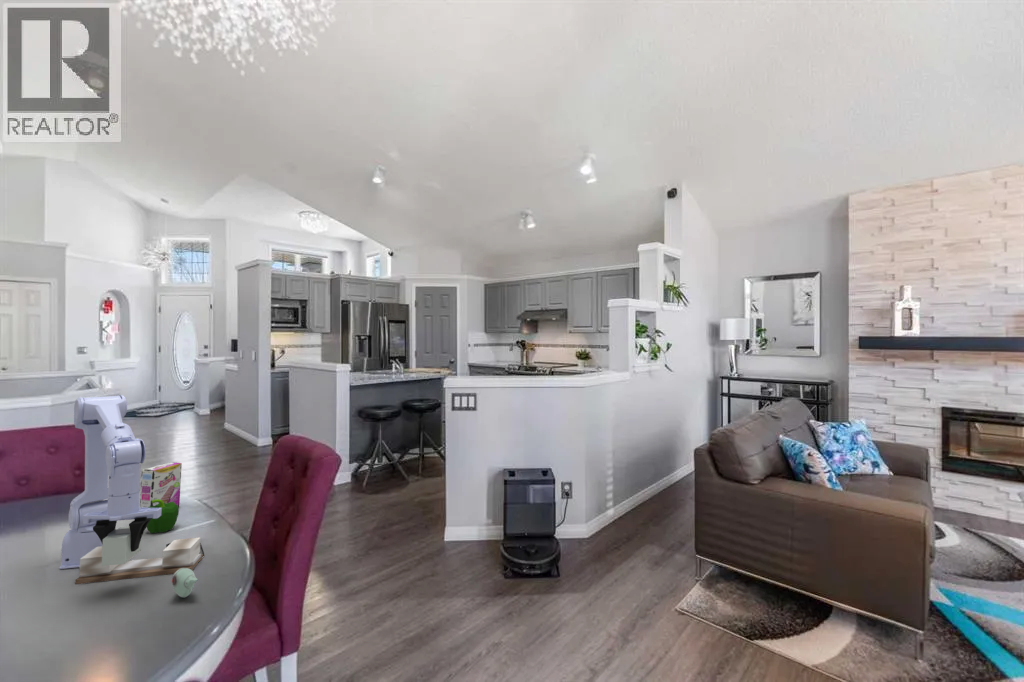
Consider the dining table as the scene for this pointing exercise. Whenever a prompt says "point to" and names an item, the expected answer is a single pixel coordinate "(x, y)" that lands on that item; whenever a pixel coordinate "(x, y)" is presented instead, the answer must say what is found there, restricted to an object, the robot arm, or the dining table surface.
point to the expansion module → (118, 547)
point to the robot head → (183, 581)
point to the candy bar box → (160, 484)
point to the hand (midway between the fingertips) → (122, 550)
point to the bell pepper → (163, 517)
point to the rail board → (141, 563)
